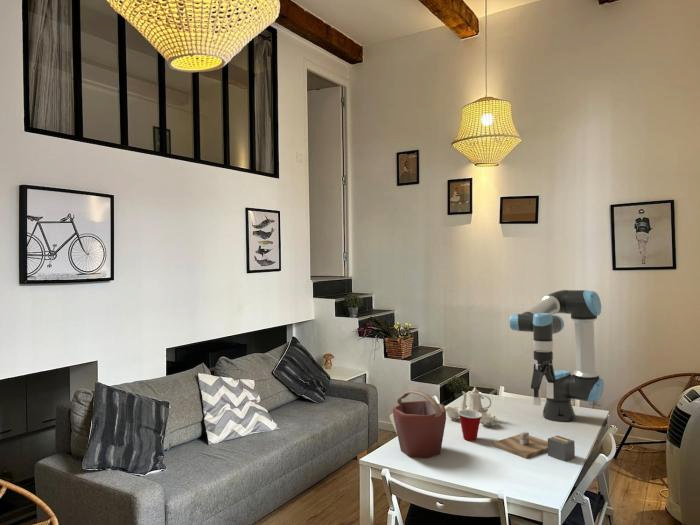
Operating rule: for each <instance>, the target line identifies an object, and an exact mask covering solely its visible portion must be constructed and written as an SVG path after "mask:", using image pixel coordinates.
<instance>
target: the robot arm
mask: <svg viewBox="0 0 700 525" xmlns="http://www.w3.org/2000/svg"><path fill="white" fill-rule="evenodd" d="M600 298H601V297H600V296H599V294H598V293H597V292H596V291H594V290H587V289H586V290H585V289H584V290H583V289H581V290H579V289H577V290H576V289H570V290H569V289H561V290H557V291H554V292H551V293H549V294H547V295H546V296H544V297H542V299H541V300H540V302H537V303H536V304H535V305H533V306H532V307H530V308H528V309H527V310H526V311H524V312H522V313H513V314H511V315H510V316H509V321H508V322H509V328H510V330H512V331H517V332H525V333H526V332H528V333H529V332H530V333H533V334H532V335H533V336H532V337H533V339H532V340H533V342H532V344H533V349H534V350H533V359H534V361H537V363H534V364H533V372H532V377H531V383H530V388H531V389H533V391H532V392H533V405H535V406H539V407H541V406H542V398H541V396H542V394H541V393H542V392H541V391H542V390H541V386H542V380H543V378H544V377H545V395H546V397H545V399H546V400H545V404H544V407H543V410H542V417H543V418H545V419H547V420H549V421H554V422H571V421H574V420H576V412H575V411H574V407H573V405H572V400H577V401H578V400H579V401H584V402H588V403H598V402H599V401H600V400H601V399H602V396H603V394H604V391H605V390H604V388H605V382H604V379H603V378H601V377H600V373H599V372H598V371H597V370H596V350H595V349H596V348H595V321H596V320H597V319H598V316H600V314H601V313H602V304H601V302H602V301H601V299H600ZM556 314H566V315H567V314H568V315H570V319H571V320H572V321H573V323H574V342H575V345H574V346H575V366H576V367H575V368H576V369H575V370H574V371H573V374H572V373H571V371H569V370H564V369H563V370H554V366H553V360H554V353H553V352H554V351H553V350H554V346H553V345H554V340H553V334H557V333H558V334H559V332H561V331H562V330H563V329H564V327H565V323H564V321H565V320H564V319H563V318H562V317H561V316H560V315H556Z"/></svg>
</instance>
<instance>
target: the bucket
mask: <svg viewBox="0 0 700 525" xmlns="http://www.w3.org/2000/svg"><path fill="white" fill-rule="evenodd" d="M410 394H416V395H418V396H421V397H423V398H424V399H425V400H413V401H402V400H403V399H405V398H406V397H408V396H409V395H410ZM396 402H397V405H396V406H394V407H393V408H392V416H393V420H394V421H393V422H394V426H395V431H396V435H397V438H398V439H397V440H398V444H399V448H400V452H402V453H403V454H404V455H405V456H407V457H408V458H415V459H426V460H427V459H430V458H433V457H437V456H440V455H441V451H442V446H443V445H442V444H443V441H444V440H443V439H444V434H445V427H446V423H447V422H446V420H447V412H446V410H445V409H446V407H445V405H444V404H442V403H439V402H437V401H436V400H435V398H433V397H432V396H431V395H430V394H428V393H426V392H424V391H419V390H408V391H405V392H404V393H403V394H401V395H400V396H399V397H398V398H397V400H396Z"/></svg>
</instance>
